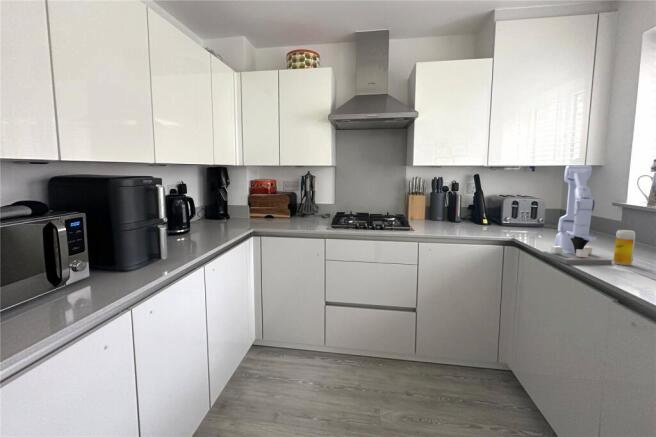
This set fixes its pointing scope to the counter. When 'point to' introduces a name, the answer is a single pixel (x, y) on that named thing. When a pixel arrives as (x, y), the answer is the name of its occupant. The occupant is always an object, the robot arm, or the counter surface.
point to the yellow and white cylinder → (624, 247)
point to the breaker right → (588, 249)
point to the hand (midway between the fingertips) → (577, 253)
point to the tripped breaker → (582, 253)
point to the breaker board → (577, 258)
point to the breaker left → (556, 249)
